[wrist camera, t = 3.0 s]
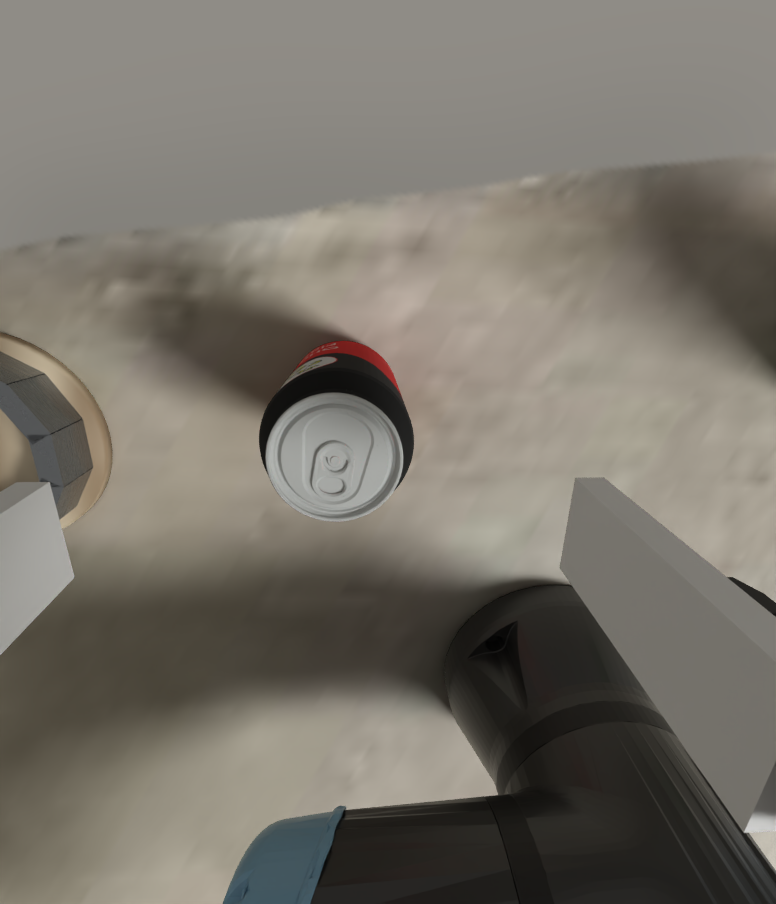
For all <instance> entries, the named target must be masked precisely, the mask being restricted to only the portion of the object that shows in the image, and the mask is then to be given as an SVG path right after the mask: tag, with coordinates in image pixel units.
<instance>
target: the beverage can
mask: <svg viewBox="0 0 776 904" xmlns="http://www.w3.org/2000/svg"><path fill="white" fill-rule="evenodd" d="M259 445H260V452H261V457H262V461H263V464H264V467H265V469H266V471H267V473H268V475H269V478H270V480H271V483H272V485H273V487H274V488H275V490H276V491H277V493H278V494H279V495H280V497H281V498H282V499H283V500H284V501H285V502H286V503H287V504H288V505H290V506H291V507H292V508H294V509H295V510H297V511H298V512H300V513H302V514H304V515H306V516H309V517H311V518H314V519H318V520H323V521H332V522H340V521H348V520H353V519H357V518H360V517H362V516H365V515H367V514H369V513H371V512H372V511H374V510H376V509H377V508H378V507H380V506H381V505H382V504H383V503H384V502H385V501H386V500H387V499H388V498H389V497H390V496H391V494H392V493H393V492H394V490H395V489H396V488H397V487H398V486H399V484H400V483H401V482H402V480H403V478H404V477H405V475H406V473H407V470H408V468H409V466H410V463H411V459H412V455H413V449H414V435H413V428H412V424H411V420H410V418H409V415H408V412H407V410H406V407H405V404H404V402H403V399H402V396H401V394H400V391H399V388H398V385H397V383H396V380H395V377H394V375H393V372H392V370H391V368H390V367H389V365H388V364H387V362H386V361H385V360H384V359H383V358H382V357H381V356H380V355H379V354H378V353H377V352H375V351H374V350H372V349H371V348H369V347H367V346H365V345H362V344H359V343H356V342H350V341H335V342H330V343H327V344H324V345H321V346H319V347H317V348H315V349H314V350H312V351H311V352H310V353H309V354H307V355H306V356H305V357H304V358H303V360H302V361H301V362H300V363H299V365H298V366H297V367H296V369H295V370H294V371H293V372H292V374H291V375H290V376H289V378H288V379H287V380H286V382H285V383H284V384H283V385H282V387H281V388H280V389H279V391H278V392H277V393H276V395H275V396H274V397H273V398H272V400H271V401H270V403H269V405H268V406H267V408H266V410H265V413H264V415H263V418H262V422H261V426H260V432H259Z"/></svg>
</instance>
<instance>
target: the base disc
mask: <svg viewBox="0 0 776 904" xmlns="http://www.w3.org/2000/svg"><path fill="white" fill-rule="evenodd" d="M0 351H1V352H3V353H5V354H7V355H9V356H11V357H13V358H15V359H17V360H19V361H21V362H23V363H25V364H27V365H29V366H31V367H33V368H35V369H37V370H39V371H41V372H43V373H45V374H46V375H47V376H48V377H49V379H50V380H51V381H52V382H53V383H54V385H55V386H56V387H57V388H58V389H59V391H60V392H61V393H62V394H63V395H64V396H65V398H66V399H67V400H68V401H69V402H70V404H71V405H72V406H73V407H74V408H75V410H76V411H77V412H78V413H79V414H80V416H81V417H82V419H83V421H84V425H85V430H86V434H87V439H88V444H89V448H90V453H91V458H92V462H93V469H92V472H91V474H90V477H89V479H88V481H87V484H86V486H85V488H84V491H83V493H82V495H81V498H80V500H79V502H78V505H77V506H76V507H75V508H74V509H73V510H71V511H70V512H69V513H68V514H66V515H65V516H64V517H62V518H61V519H60V524H61V527H62V529H64V528H66V527H68V526H69V525H70V524H72V523H73V522H75V521H76V520H78V519H79V518H80V517H81V516H82V515H84V514H85V513H86V512H87V511H88V510H89V509H90V508H91V507H92V506H93V505H94V504H95V503H96V502H97V500H98V499H99V498H100V497H101V495H102V493H103V491H104V489H105V488H106V485H107V483H108V480H109V477H110V473H111V467H112V444H111V437H110V433H109V430H108V426H107V423H106V421H105V418H104V416H103V414H102V411H101V410H100V408H99V406H98V404H97V402H96V401H95V399H94V397H93V396H92V395H91V393H90V392H89V391H88V389H87V388H86V386H85V385H84V384H83V383H82V382H81V381H80V380H79V379H78V378H77V376H76V375H75V374H74V373H73V372H71V371H70V370H69V369H68V368H67V367H66V366H65V365H64V364H62V363H61V362H60V361H58V360H57V359H56V358H54V357H53V356H51V355H50V354H49V353H47V352H45V351H43V350H42V349H40V348H38V347H36V346H35V345H33V344H30V343H28V342H26V341H24V340H21V339H19V338H16V337H13V336H10V335H7V334H4V333H0ZM16 482H39V478H38V474H37V470H36V466H35V463H34V459H33V455H32V451H31V447H30V444H29V440H28V439H27V438H26V437H25V436H24V434H23V433H22V432H21V431H20V430H19V429H18V428H17V427H16V426H15V424H14V423H13V422H12V421H11V420H10V419H9V418H8V417H7V416H6V414H5V413H4V412H3V411H2V410H1V409H0V492H1V491H3V490H4V489H6V488H8V487H9V486H11V485H13V484H14V483H16Z"/></svg>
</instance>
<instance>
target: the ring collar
mask: <svg viewBox="0 0 776 904" xmlns="http://www.w3.org/2000/svg"><path fill="white" fill-rule="evenodd" d="M0 409H1V410H2V411H3V412H4V413H5V414H6V416H7V417H8V418H9V419H10V420H11V421H12V422H13V423H14V424H15V426H16V427H17V428H18V429H19V430H20V431H21V432H22V433H23V434H24V436H25V437H26V438H27V439H28V440H29V444H30V447H31V451H32V455H33V459H34V463H35V466H36V470H37V474H38V478H39V482H50V486H51V489H52V493H53V497H54V501H55V505H56V508H57V512H58V516H59V520H60V519H61V518H62V517H64V516H65V515H66V514H68V513H69V512H70V511H71V510H73V509H74V508H75V507H76V506H77V505H78V502H79V500H80V498H81V495H82V493H83V491H84V488H85V486H86V484H87V481H88V479H89V477H90V474H91V472H92V469H93V462H92V458H91V453H90V448H89V444H88V439H87V434H86V430H85V425H84V421H83V419H82V417H81V416H80V414H79V413H78V412H77V411H76V410H75V408H74V407H73V406H72V405H71V404H70V402H69V401H68V400H67V399H66V398H65V396H64V395H63V394H62V393H61V392H60V391H59V389H58V388H57V387H56V386H55V385H54V383H53V382H52V381H51V380H50V379H49V377H48V376H47V375H46V374H45V373H43V372H41V371H39V370H37V369H35V368H33V367H31V366H29V365H27V364H25V363H23V362H21V361H19V360H17V359H15V358H13V357H11V356H9V355H7V354H5V353H3V352H1V351H0Z"/></svg>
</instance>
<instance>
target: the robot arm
mask: <svg viewBox="0 0 776 904" xmlns="http://www.w3.org/2000/svg"><path fill="white" fill-rule="evenodd" d="M560 569H561V570H562V572H563V573H564V575H565V576H566V578H567V579H568V580H569V582H570V583H571V585H572V586H573V587H570V586H560V585H549V586H538V587H532V588H527V589H523V590H520V591H516V592H513V593H511V594H508V595H506V596H503V597H501V598H499V599H497V600H495V601H493V602H492V603H490V604H488V605H487V606H485V607H484V608H482V609H481V610H480V611H478V612H477V613H476V614H475V615H474V616H472V617H471V618H470V619H469V620H468V621H467V622H466V623H465V625H464V626H463V627H462V628H461V629H460V631H459V632H458V633H457V635H456V637H455V638H454V640H453V642H452V644H451V646H450V648H449V651H448V654H447V657H446V661H445V669H444V676H445V684H446V689H447V693H448V698H449V702H450V706H451V710H452V712H453V715H454V718H455V720H456V722H457V724H458V725H459V727H460V729H461V730H462V732H463V733H464V735H465V737H466V738H467V740H468V741H469V743H470V745H471V746H472V748H473V749H474V751H475V752H476V754H477V756H478V757H479V759H480V760H481V762H482V764H483V765H484V767H485V768H486V770H487V772H488V773H489V775H490V776H491V778H492V779H493V781H494V783H495V785H496V789H497V792H498V795H496V796H486V797H475V798H466V799H455V800H445V801H435V802H424V803H414V804H403V805H393V806H383V807H372V808H362V809H352V810H346V806H338V807H337V808H335V809H334V811H333V812H326V813H320V814H314V815H308V816H302V817H295V818H289V819H283V820H280V821H277V822H275V823H273V824H271V825H269V826H268V827H267V828H265V829H264V830H263V831H262V832H261V833H260V834H259V835H258V836H257V837H256V838H255V839H254V841H253V842H252V843H251V845H250V846H249V847H248V849H247V850H246V852H245V854H244V856H243V857H242V859H241V861H240V863H239V865H238V867H237V869H236V871H235V874H234V876H233V878H232V881H231V883H230V885H229V888H228V891H227V893H226V896H225V899H224V901H223V904H776V870H775V869H774V868H773V866H772V865H771V863H770V862H769V861H768V859H767V858H766V856H765V855H764V854H763V852H762V851H761V849H760V848H759V847H758V845H757V844H756V842H755V841H754V840H753V838H752V837H751V835H750V834H749V833H751V832H769V831H776V603H775V602H774V601H772V600H771V599H770V598H769V597H767V596H766V595H765V594H763V593H762V592H760V591H758V590H756V589H754V588H752V587H750V586H748V585H746V584H744V583H743V582H741V581H739V580H737V579H735V578H733V577H726V576H725V575H723V574H722V573H721V572H720V571H718V570H717V569H716V568H715V567H713V566H712V565H711V564H710V563H709V562H707V561H706V560H705V559H704V558H702V557H701V556H700V555H699V554H697V553H696V552H695V551H694V550H693V549H691V548H690V547H689V546H688V545H686V544H685V543H684V542H683V541H681V540H680V539H679V538H678V537H676V536H675V535H674V534H673V533H672V532H670V531H669V530H668V529H667V528H665V527H664V526H663V525H662V524H660V523H659V522H658V521H657V520H656V519H654V518H653V517H652V516H651V515H649V514H648V513H647V512H646V511H644V510H643V509H642V508H641V507H639V506H638V505H637V504H636V503H635V502H633V501H632V500H631V499H630V498H628V497H627V496H626V495H625V494H623V493H622V492H621V491H620V490H619V489H617V488H616V487H615V486H614V485H612V484H611V483H610V482H609V481H607V480H606V479H605V478H575V482H574V488H573V494H572V499H571V505H570V511H569V517H568V522H567V528H566V534H565V540H564V545H563V551H562V557H561V563H560ZM74 578H75V577H74V573H73V569H72V566H71V562H70V558H69V554H68V550H67V547H66V543H65V539H64V535H63V531H62V527H61V524H60V520H59V516H58V512H57V508H56V505H55V501H54V497H53V493H52V489H51V486H50V482H16V483H14V484H13V485H11V486H9V487H8V488H6V489H4V490H3V491H1V492H0V655H1V654H2V653H3V652H4V651H5V650H6V649H7V648H8V647H9V645H10V644H11V643H12V642H13V641H14V640H15V639H16V638H17V637H18V636H19V635H20V634H21V633H22V632H23V631H24V630H25V629H26V628H27V627H28V626H29V625H30V624H31V622H32V621H33V620H34V619H35V618H36V617H37V616H38V615H39V614H40V613H41V612H42V611H43V610H44V609H45V608H46V607H47V606H48V605H49V604H50V603H51V602H52V601H53V599H54V598H55V597H56V596H57V595H58V594H59V593H60V592H61V591H62V590H63V589H64V588H65V587H66V586H67V585H68V584H69V583H70V582H71V581H72V580H73V579H74Z"/></svg>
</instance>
